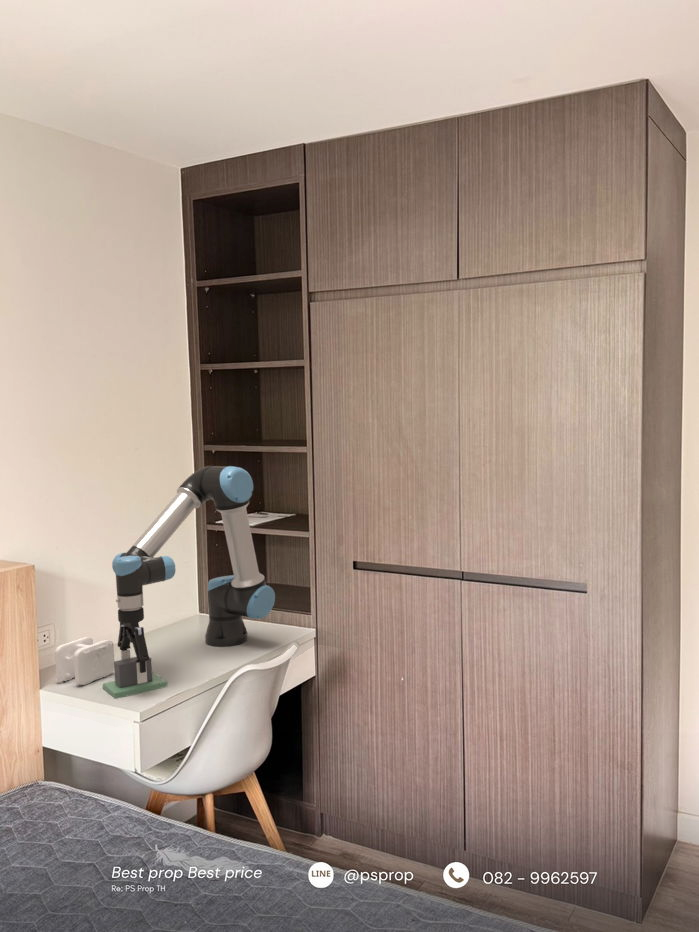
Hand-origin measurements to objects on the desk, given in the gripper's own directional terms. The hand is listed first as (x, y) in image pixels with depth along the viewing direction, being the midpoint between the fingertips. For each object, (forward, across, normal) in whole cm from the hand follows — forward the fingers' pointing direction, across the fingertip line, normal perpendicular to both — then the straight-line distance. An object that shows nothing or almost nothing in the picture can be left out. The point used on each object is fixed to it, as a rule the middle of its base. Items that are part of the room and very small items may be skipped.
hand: (134, 676), depth 255 cm
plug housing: (+2, 0, 0) cm, 2 cm away
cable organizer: (+4, -18, -9) cm, 20 cm away
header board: (+3, 0, 0) cm, 3 cm away
